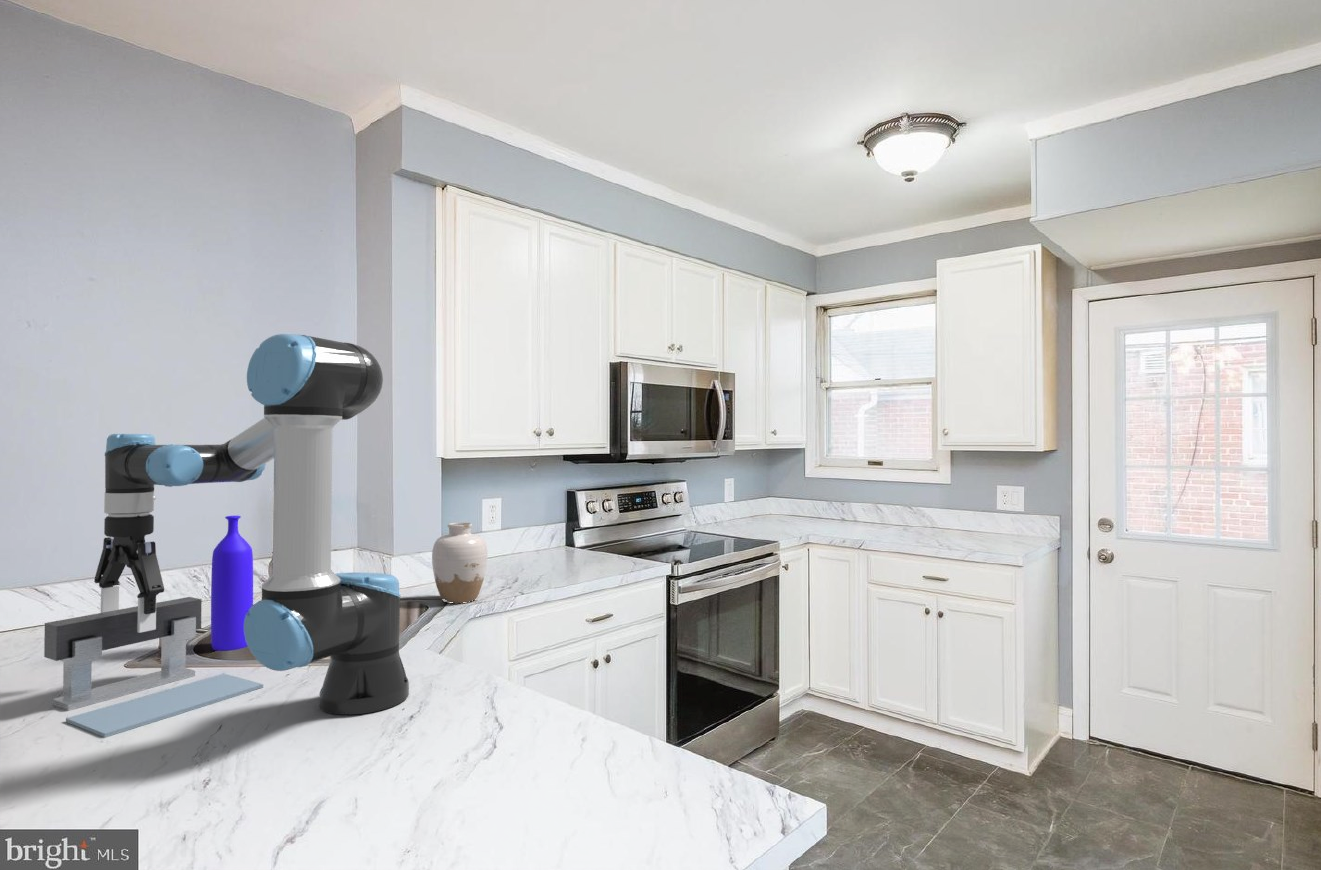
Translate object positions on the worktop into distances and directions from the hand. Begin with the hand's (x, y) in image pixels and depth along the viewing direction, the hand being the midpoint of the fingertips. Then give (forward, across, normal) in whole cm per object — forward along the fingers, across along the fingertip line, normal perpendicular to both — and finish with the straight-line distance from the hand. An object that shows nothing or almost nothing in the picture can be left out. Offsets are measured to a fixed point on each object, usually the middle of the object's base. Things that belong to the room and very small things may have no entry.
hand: (127, 625), depth 134 cm
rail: (+3, 0, 0) cm, 3 cm away
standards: (+12, 0, 0) cm, 12 cm away
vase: (+12, -1, -86) cm, 87 cm away
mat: (+12, -15, 0) cm, 19 cm away
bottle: (+12, +11, -26) cm, 31 cm away
